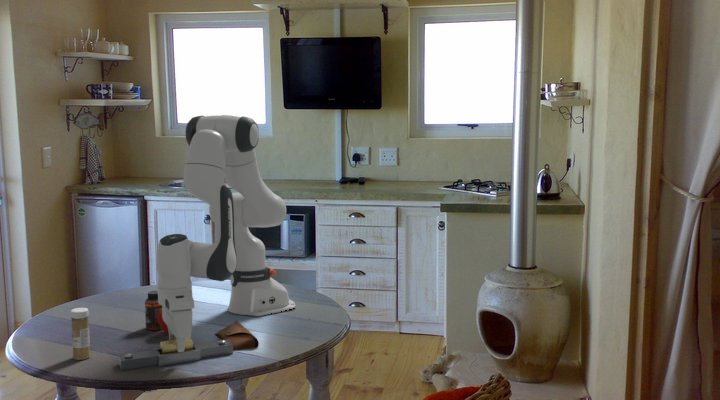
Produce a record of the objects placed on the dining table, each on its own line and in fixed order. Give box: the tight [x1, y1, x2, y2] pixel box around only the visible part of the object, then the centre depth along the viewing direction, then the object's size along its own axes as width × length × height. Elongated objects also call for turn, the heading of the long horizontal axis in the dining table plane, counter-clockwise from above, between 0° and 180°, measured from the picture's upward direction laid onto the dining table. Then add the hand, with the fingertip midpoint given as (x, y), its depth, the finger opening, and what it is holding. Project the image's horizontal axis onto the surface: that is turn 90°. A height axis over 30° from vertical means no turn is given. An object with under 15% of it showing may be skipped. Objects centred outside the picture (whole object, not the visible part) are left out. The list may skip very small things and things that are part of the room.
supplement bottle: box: [144, 290, 162, 331], centre depth 220 cm, size 6×6×11 cm
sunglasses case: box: [213, 319, 260, 352], centre depth 209 cm, size 18×7×7 cm, turn 28°
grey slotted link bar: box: [117, 339, 234, 371], centre depth 194 cm, size 30×7×3 cm, turn 116°
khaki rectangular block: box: [159, 337, 194, 355], centre depth 194 cm, size 8×3×5 cm, turn 116°
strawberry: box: [157, 308, 169, 336], centre depth 214 cm, size 6×8×10 cm
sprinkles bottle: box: [69, 307, 91, 361], centre depth 194 cm, size 5×5×14 cm
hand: (176, 345), depth 194 cm, fingers open, 8 cm apart
